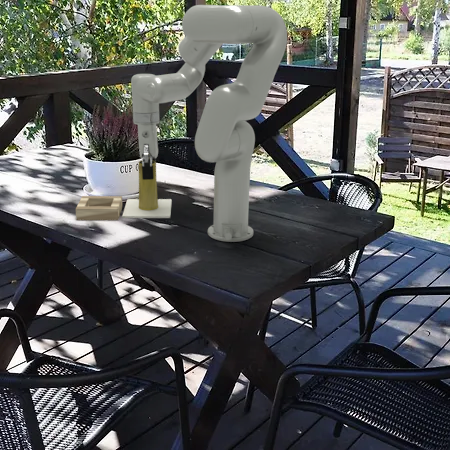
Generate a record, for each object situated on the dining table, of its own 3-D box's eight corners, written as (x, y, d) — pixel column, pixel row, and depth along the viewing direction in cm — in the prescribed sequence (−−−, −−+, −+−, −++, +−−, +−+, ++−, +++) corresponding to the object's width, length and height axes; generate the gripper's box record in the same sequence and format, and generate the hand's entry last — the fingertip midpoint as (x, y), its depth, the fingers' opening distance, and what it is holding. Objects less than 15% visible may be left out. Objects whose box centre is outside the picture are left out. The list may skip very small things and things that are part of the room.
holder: (118, 220, 174) (117, 208, 173) (76, 220, 174) (75, 208, 172) (122, 206, 186) (122, 196, 184) (83, 206, 185) (82, 196, 184)
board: (170, 218, 177) (170, 216, 177) (122, 217, 176) (122, 216, 176) (171, 201, 192) (171, 199, 192) (127, 200, 191) (127, 199, 191)
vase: (134, 208, 183) (132, 162, 178) (146, 203, 188) (144, 158, 183) (151, 211, 180) (149, 165, 175) (162, 206, 185) (161, 161, 180)
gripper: (157, 122, 166) (160, 182, 172) (160, 113, 183) (162, 168, 188) (130, 123, 166) (134, 183, 172) (135, 113, 182) (138, 168, 188)
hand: (149, 175), depth 180 cm, fingers open, 9 cm apart
